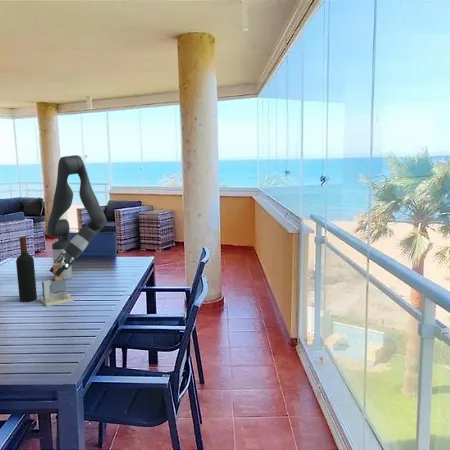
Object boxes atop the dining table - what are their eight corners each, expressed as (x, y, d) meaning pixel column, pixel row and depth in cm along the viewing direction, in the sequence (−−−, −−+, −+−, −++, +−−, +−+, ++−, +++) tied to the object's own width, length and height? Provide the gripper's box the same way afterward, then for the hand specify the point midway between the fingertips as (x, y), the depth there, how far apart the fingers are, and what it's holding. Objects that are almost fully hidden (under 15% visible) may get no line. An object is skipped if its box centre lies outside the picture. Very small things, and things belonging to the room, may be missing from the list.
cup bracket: (39, 300, 202) (37, 279, 201) (65, 294, 209) (64, 274, 208) (46, 306, 193) (44, 284, 191) (73, 300, 200) (71, 279, 198)
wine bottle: (18, 303, 198) (12, 239, 194) (21, 298, 206) (15, 236, 202) (35, 301, 200) (30, 237, 196) (38, 296, 208) (32, 235, 203)
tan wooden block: (54, 289, 201) (52, 264, 200) (61, 288, 203) (59, 263, 202) (56, 290, 199) (55, 265, 197) (63, 289, 201) (62, 264, 199)
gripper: (65, 239, 208) (43, 266, 203) (75, 243, 197) (51, 271, 191) (77, 248, 212) (55, 275, 207) (87, 253, 200) (64, 281, 195)
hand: (53, 273), depth 199 cm, fingers open, 8 cm apart
